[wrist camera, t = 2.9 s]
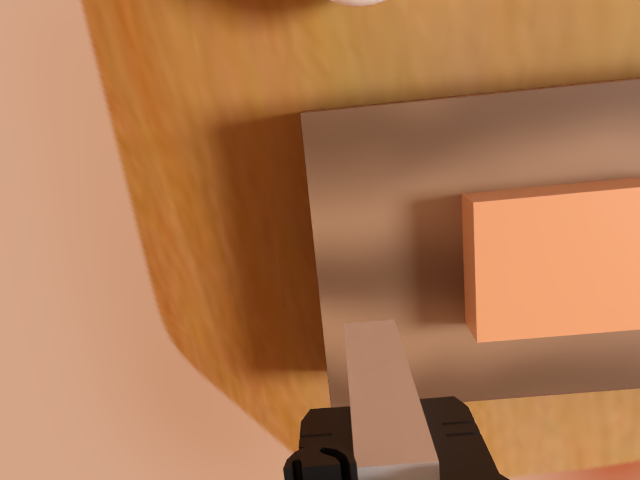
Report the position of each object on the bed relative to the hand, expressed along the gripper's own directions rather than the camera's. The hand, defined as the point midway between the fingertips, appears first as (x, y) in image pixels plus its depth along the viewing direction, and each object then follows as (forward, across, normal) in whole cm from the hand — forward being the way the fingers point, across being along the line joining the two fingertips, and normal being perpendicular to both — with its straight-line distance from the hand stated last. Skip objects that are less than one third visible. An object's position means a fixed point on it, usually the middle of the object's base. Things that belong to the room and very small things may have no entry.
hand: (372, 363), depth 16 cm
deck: (+12, +10, 0) cm, 16 cm away
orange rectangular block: (+8, +9, 0) cm, 12 cm away
